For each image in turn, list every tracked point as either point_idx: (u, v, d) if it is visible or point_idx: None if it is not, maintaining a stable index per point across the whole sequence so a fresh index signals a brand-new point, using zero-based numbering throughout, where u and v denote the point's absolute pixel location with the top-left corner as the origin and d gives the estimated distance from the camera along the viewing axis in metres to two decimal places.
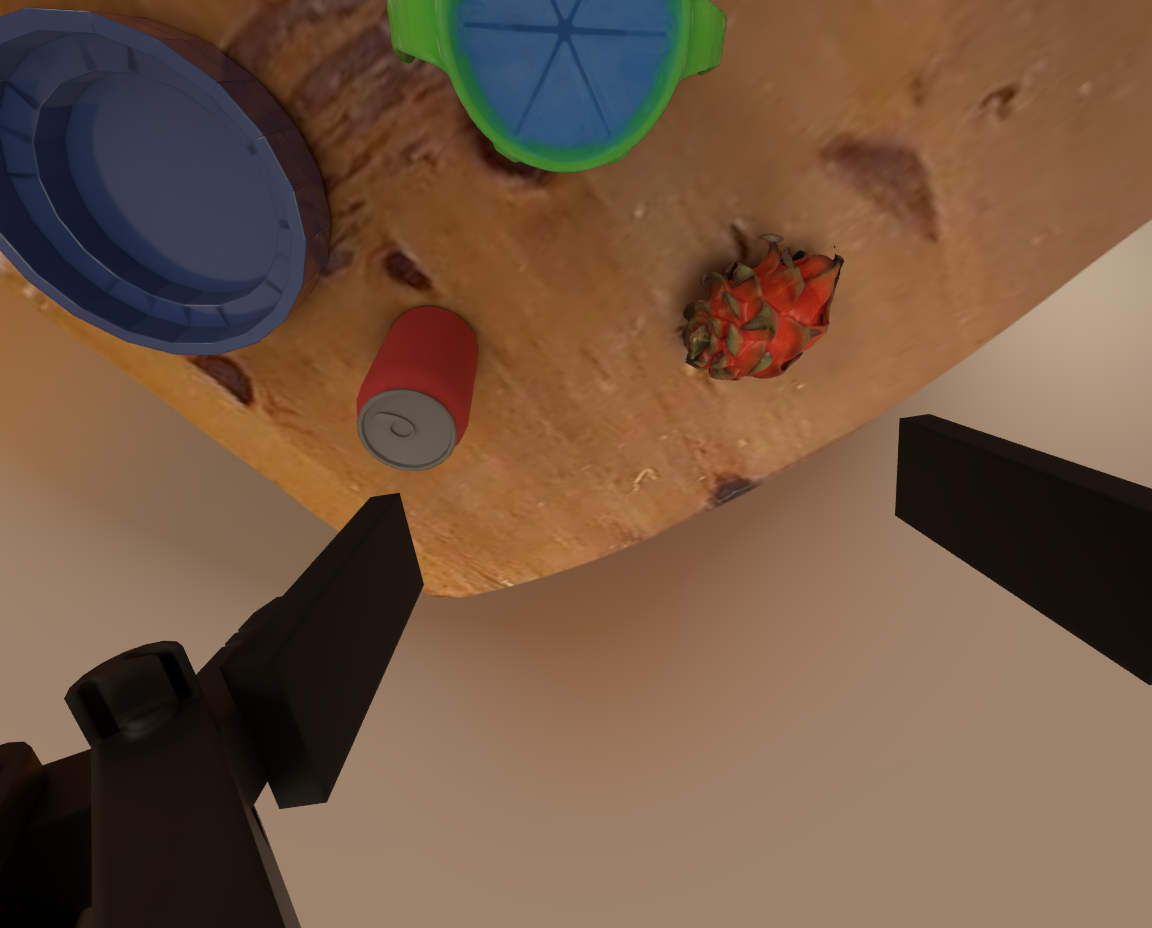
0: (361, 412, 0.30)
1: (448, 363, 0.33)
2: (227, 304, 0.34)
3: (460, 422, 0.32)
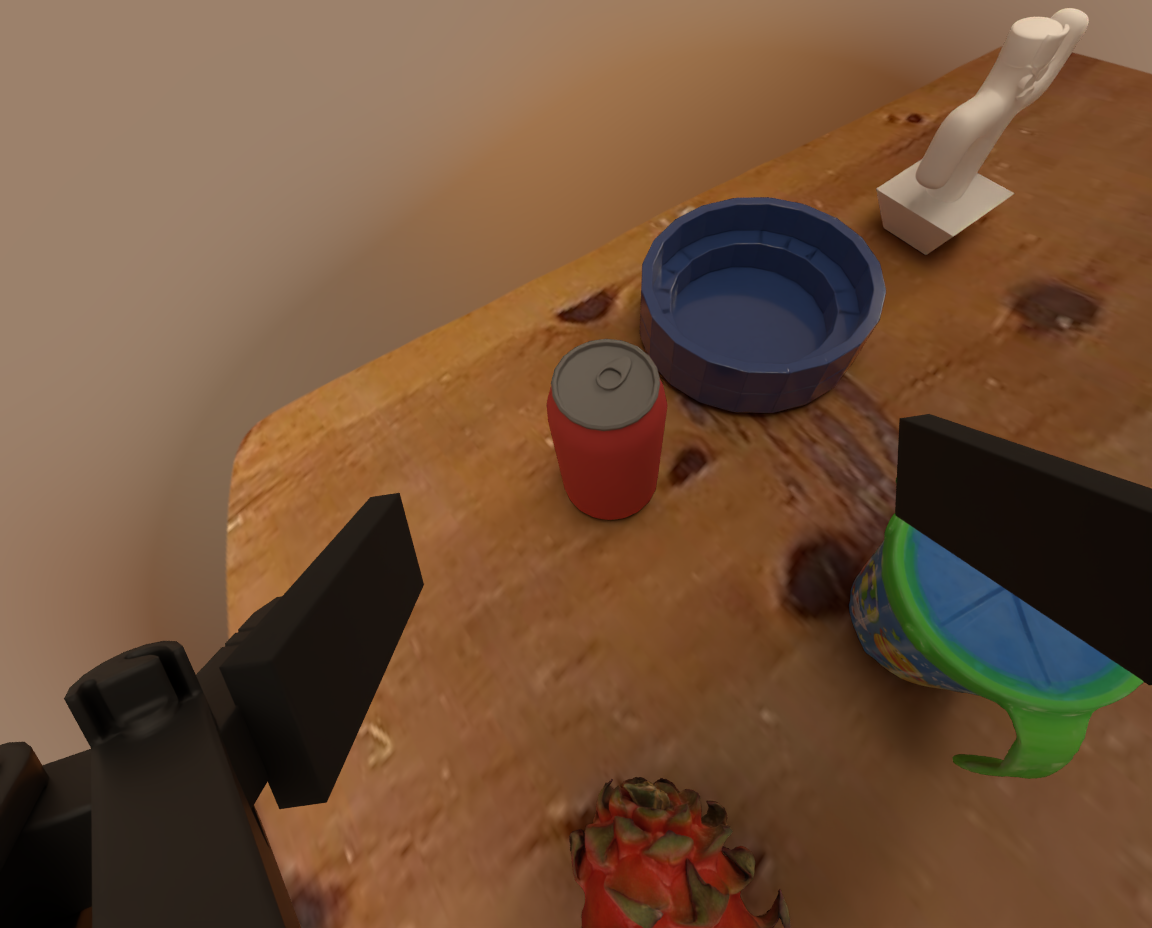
0: (634, 345, 0.28)
1: (650, 455, 0.30)
2: (672, 316, 0.40)
3: (605, 440, 0.27)
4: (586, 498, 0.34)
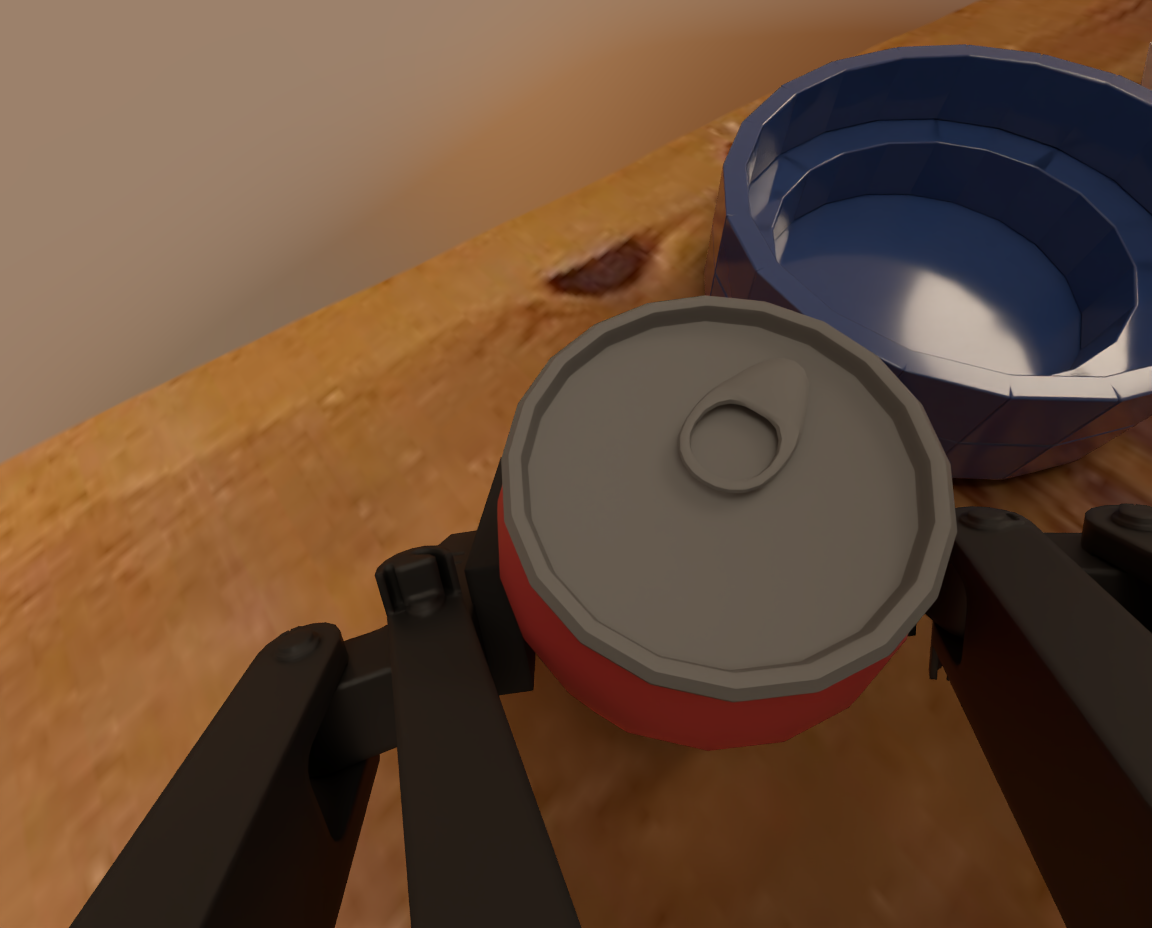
0: (813, 318, 0.08)
1: None
2: None
3: (728, 717, 0.06)
4: (614, 723, 0.13)
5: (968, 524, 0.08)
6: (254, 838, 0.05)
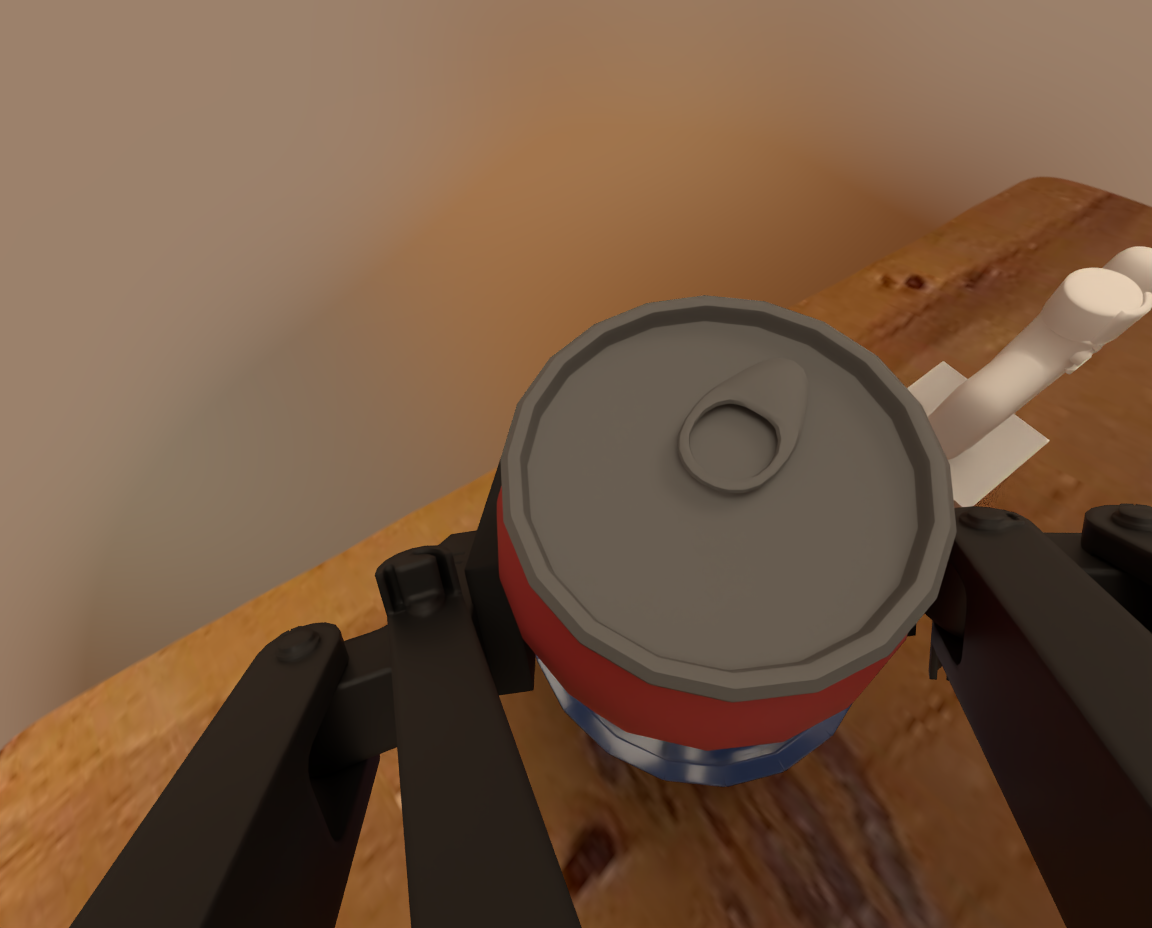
0: (813, 318, 0.08)
1: None
2: None
3: (727, 717, 0.06)
4: None
5: (968, 524, 0.08)
6: (254, 838, 0.05)
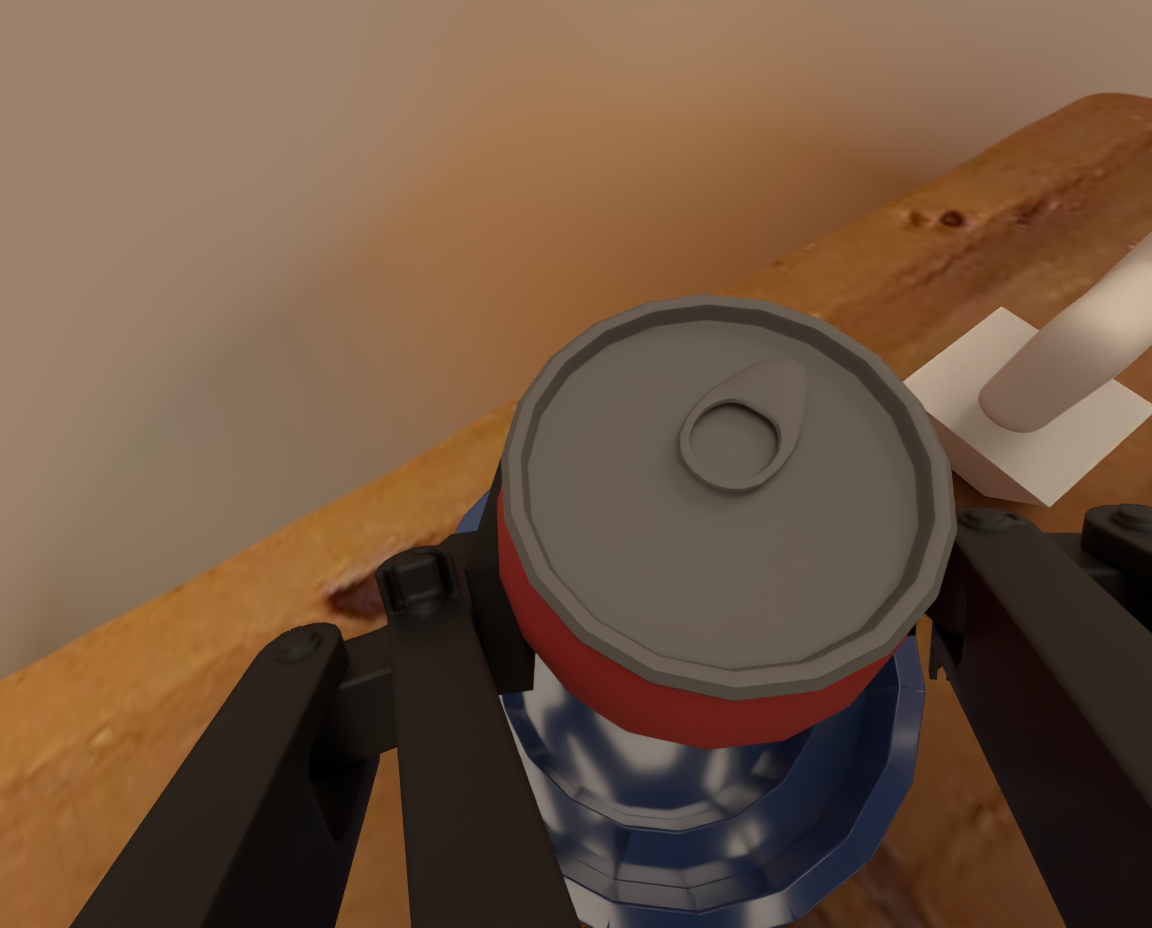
0: (813, 317, 0.08)
1: None
2: None
3: (728, 716, 0.06)
4: (614, 723, 0.13)
5: (969, 524, 0.08)
6: (254, 838, 0.05)
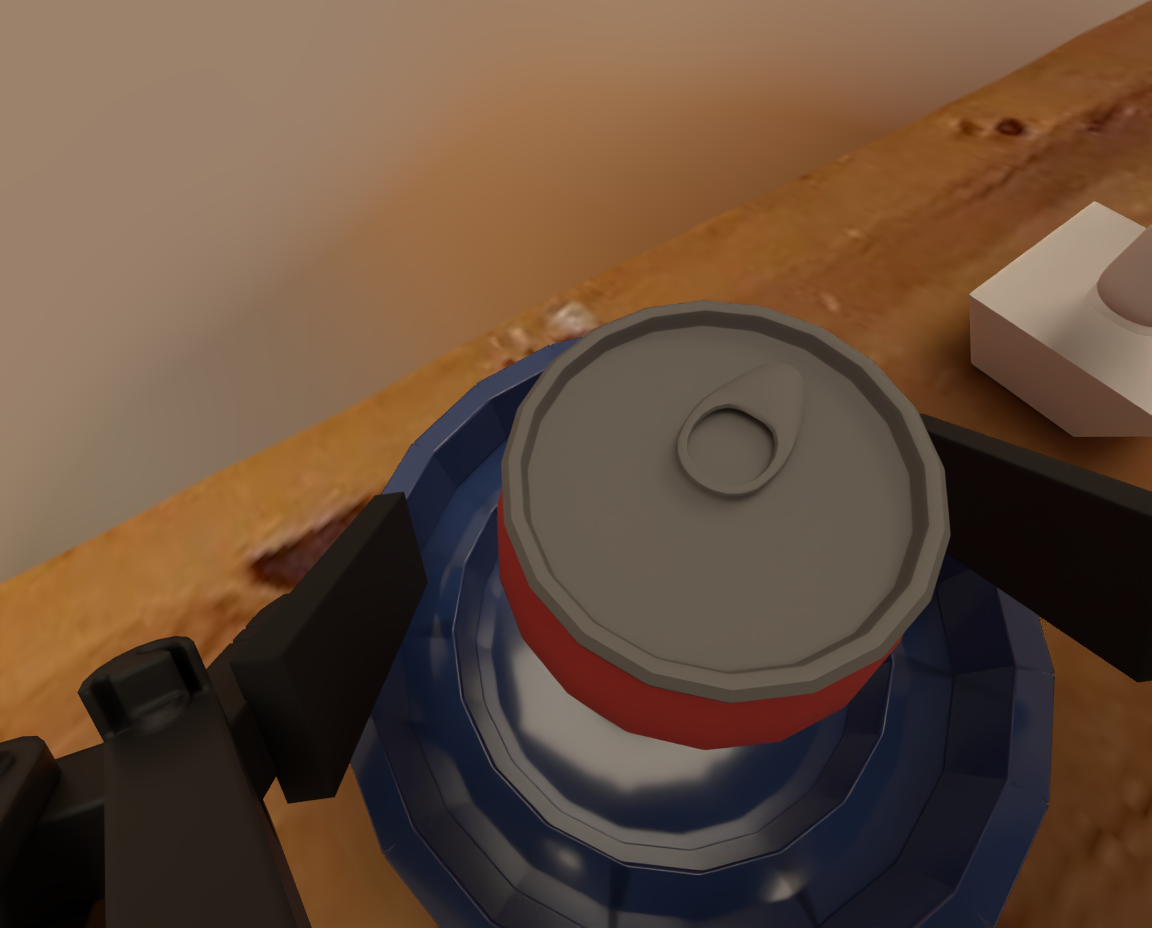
0: (810, 323, 0.08)
1: None
2: (453, 651, 0.15)
3: (725, 717, 0.06)
4: (613, 723, 0.13)
5: None
6: None
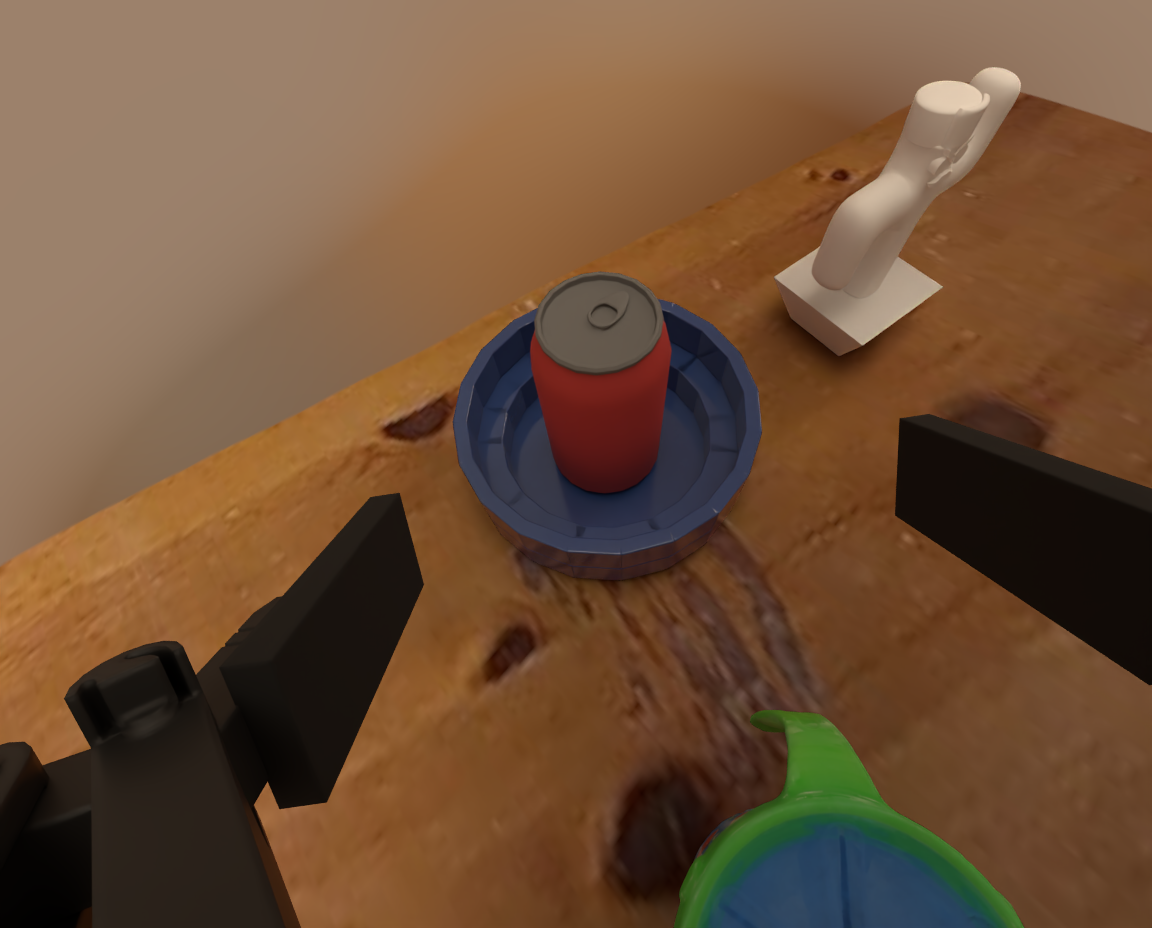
0: (632, 278, 0.24)
1: (651, 410, 0.25)
2: (502, 449, 0.31)
3: (598, 387, 0.23)
4: (577, 466, 0.29)
5: None
6: None
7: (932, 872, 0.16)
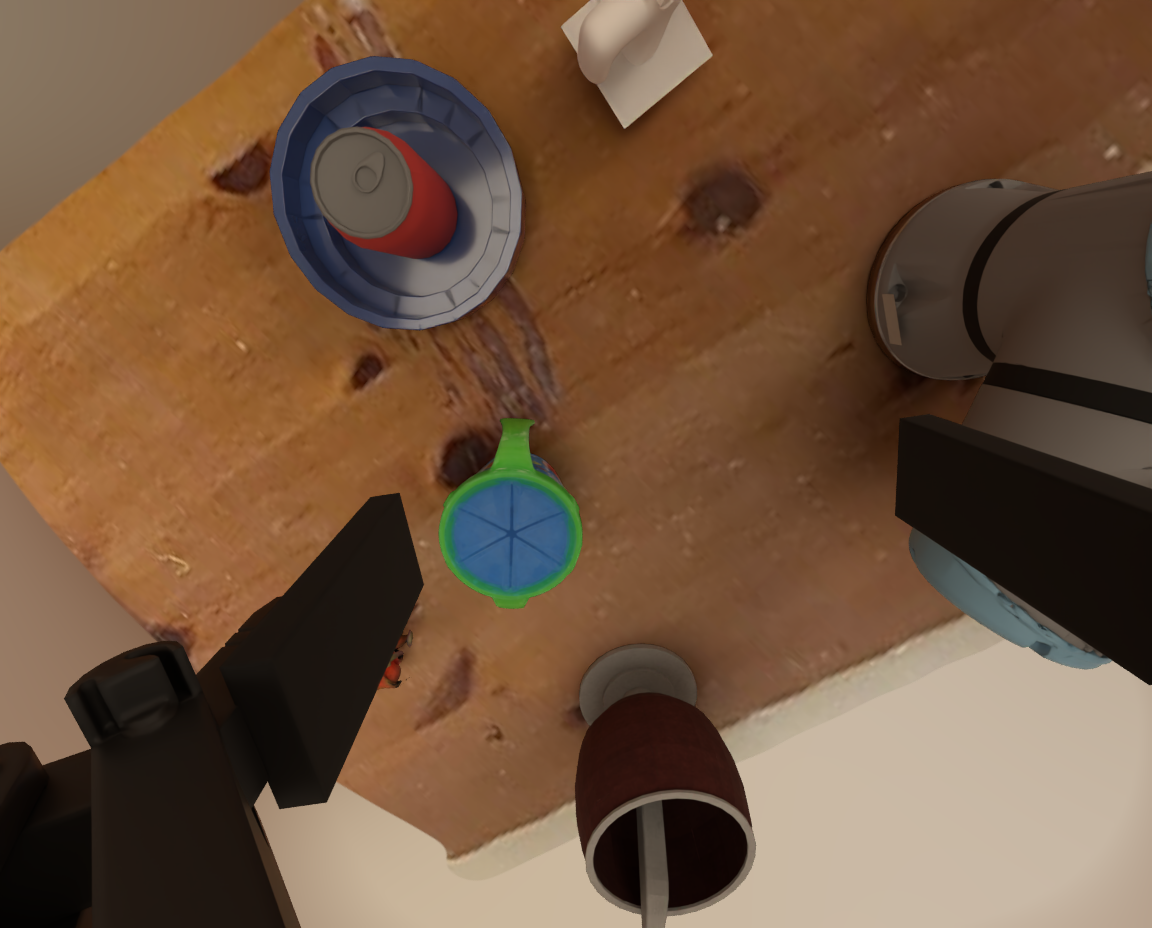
0: (385, 138, 0.29)
1: (424, 235, 0.34)
2: (324, 225, 0.39)
3: (372, 242, 0.31)
4: None
5: None
6: None
7: (546, 494, 0.38)
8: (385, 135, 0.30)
